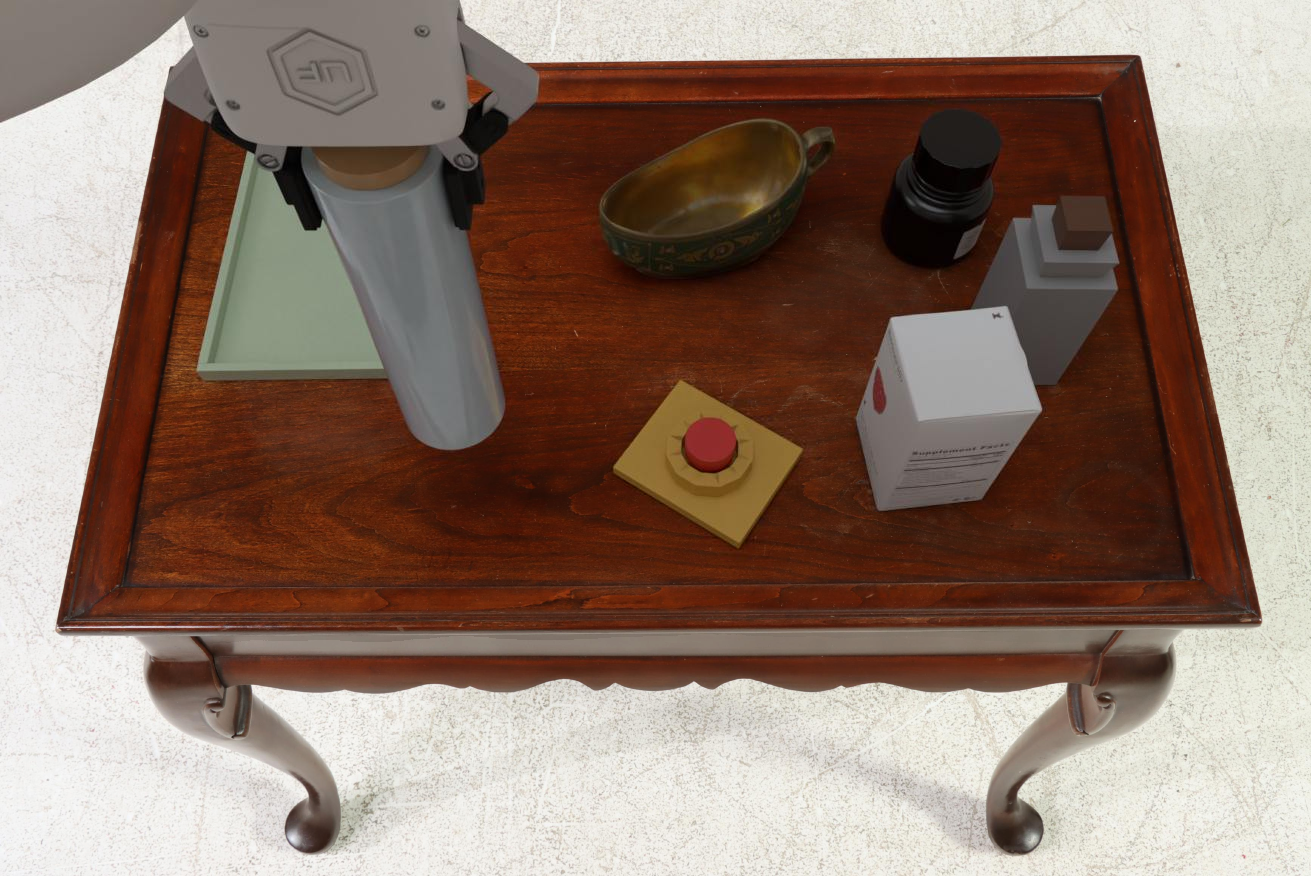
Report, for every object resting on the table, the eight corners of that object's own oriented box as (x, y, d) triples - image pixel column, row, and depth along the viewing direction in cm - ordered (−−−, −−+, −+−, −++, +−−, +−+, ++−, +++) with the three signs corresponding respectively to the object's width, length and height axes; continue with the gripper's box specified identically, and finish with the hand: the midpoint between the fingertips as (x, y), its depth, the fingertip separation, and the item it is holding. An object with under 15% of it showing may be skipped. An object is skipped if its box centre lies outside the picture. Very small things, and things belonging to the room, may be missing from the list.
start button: (717, 480, 81) (718, 470, 79) (674, 455, 82) (675, 445, 80) (744, 443, 82) (745, 433, 81) (701, 419, 83) (702, 408, 82)
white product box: (852, 416, 87) (887, 311, 73) (956, 406, 87) (1010, 300, 74) (874, 514, 82) (916, 422, 69) (984, 503, 83) (1046, 409, 70)
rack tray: (413, 378, 88) (409, 368, 87) (203, 380, 88) (195, 370, 87) (441, 137, 102) (438, 125, 100) (258, 139, 101) (252, 127, 100)
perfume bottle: (1055, 385, 88) (1143, 250, 72) (976, 384, 88) (1047, 249, 72) (1042, 320, 91) (1123, 178, 76) (966, 319, 91) (1031, 177, 76)
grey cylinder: (462, 468, 65) (374, 210, 44) (383, 417, 67) (262, 146, 46) (525, 394, 68) (471, 118, 47) (448, 348, 70) (362, 61, 49)
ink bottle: (980, 275, 94) (1022, 183, 83) (883, 272, 94) (913, 180, 83) (968, 193, 98) (1007, 97, 88) (876, 191, 98) (903, 94, 88)
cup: (821, 304, 92) (839, 230, 83) (599, 290, 93) (593, 215, 84) (821, 194, 98) (838, 114, 89) (613, 181, 99) (609, 101, 90)
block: (738, 549, 81) (741, 534, 78) (613, 473, 84) (611, 456, 81) (802, 455, 85) (806, 438, 82) (679, 386, 88) (680, 367, 85)
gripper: (-10, -79, 33) (200, 269, 49) (527, -79, 33) (565, 268, 49) (54, -210, 37) (230, 153, 53) (537, -210, 37) (570, 152, 53)
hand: (391, 206), depth 51 cm, fingers closed on grey cylinder, 6 cm apart
